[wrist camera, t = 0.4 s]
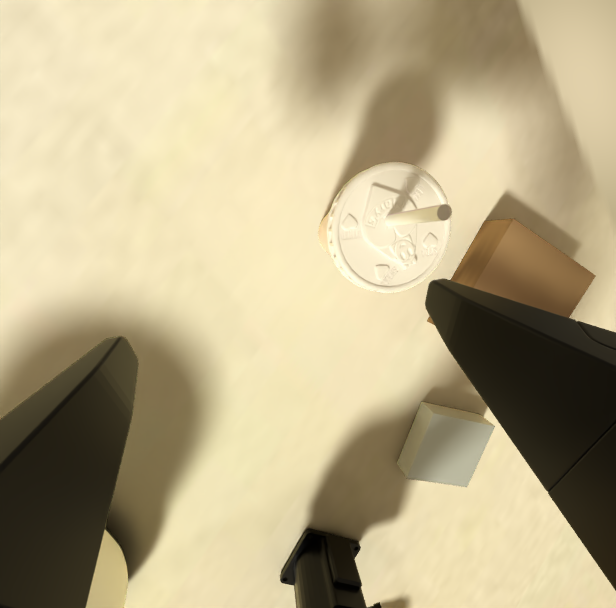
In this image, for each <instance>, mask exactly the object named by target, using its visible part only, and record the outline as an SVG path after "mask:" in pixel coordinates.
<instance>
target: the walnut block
mask: <svg viewBox="0 0 616 608" xmlns="http://www.w3.org/2000/svg"><path fill="white" fill-rule="evenodd" d="M594 278H595V275H594V274H593V273H591V272H590V271H588V270H587V269H585V268H584V267H583V266H581V265H580V264H578V263H577V262H575V261H574V260H573V259H571V258H570V257H568V256H567V255H565V254H564V253H562V252H561V251H560V250H558V249H557V248H555V247H554V246H552V245H551V244H550V243H548V242H547V241H545V240H544V239H542V238H541V237H540V236H538V235H537V234H535V233H534V232H532V231H531V230H529V229H528V228H527V227H525V226H524V225H522V224H521V223H519V222H518V221H517V220H515V219H503V220H491V221H485V222H484V223H483V225H482V227H481V228H480V230H479V232H478V234H477V235H476V237H475V239H474V241H473V242H472V244H471V246H470V248H469V249H468V251H467V253H466V255H465V256H464V258H463V260H462V262H461V263H460V265H459V267H458V268H457V270H456V272H455V274H454V275H453V277H452V279H451V281H454V282H457V283H460V284H463V285H466V286H470V287H473V288H476V289H479V290H482V291H485V292H488V293H492V294H495V295H498V296H501V297H504V298H507V299H510V300H514V301H517V302H520V303H523V304H526V305H529V306H532V307H536V308H539V309H542V310H545V311H548V312H551V313H555V314H558V315H561V316H564V317H567V318H569V317H570V315H571V314H572V312H573V310H574V309H575V307H576V306H577V304H578V303H579V301H580V300H581V298H582V296H583V295H584V293H585V292H586V290H587V289H588V287H589V285H590V284H591V282H592V281H593V279H594ZM428 322H430V323H432V324H434V323H433V321H432V319H431V317H429V319H428ZM434 325H435V324H434Z"/></svg>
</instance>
